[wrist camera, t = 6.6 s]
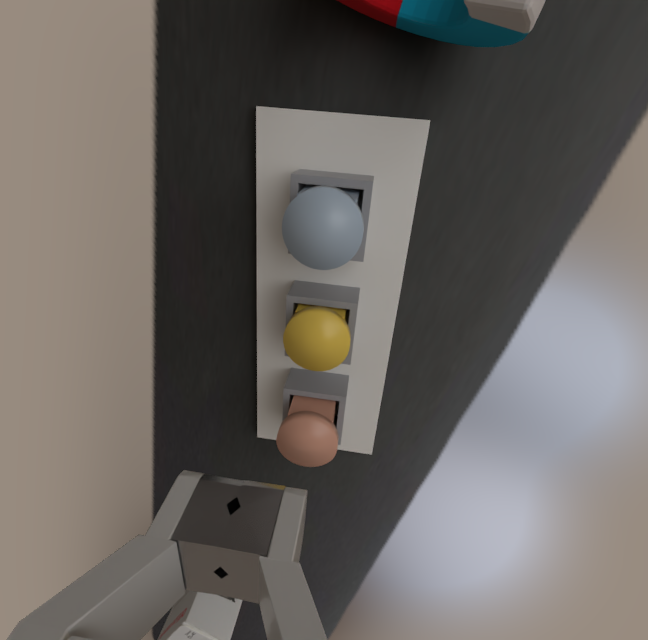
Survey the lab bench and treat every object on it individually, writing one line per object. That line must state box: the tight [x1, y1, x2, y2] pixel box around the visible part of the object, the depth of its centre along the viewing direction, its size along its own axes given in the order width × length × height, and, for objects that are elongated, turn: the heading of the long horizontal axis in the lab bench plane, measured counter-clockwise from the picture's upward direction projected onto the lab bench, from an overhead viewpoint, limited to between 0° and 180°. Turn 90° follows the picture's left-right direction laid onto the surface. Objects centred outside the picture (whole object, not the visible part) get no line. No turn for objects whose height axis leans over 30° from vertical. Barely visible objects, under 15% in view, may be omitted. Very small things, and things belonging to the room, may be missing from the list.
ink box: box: [158, 590, 242, 640], centre depth 41 cm, size 9×5×12 cm, turn 147°
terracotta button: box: [276, 395, 339, 467], centre depth 31 cm, size 5×5×4 cm
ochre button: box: [283, 303, 351, 371], centre depth 29 cm, size 5×5×4 cm
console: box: [256, 106, 430, 454], centre depth 30 cm, size 28×11×4 cm, turn 176°
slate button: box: [282, 185, 364, 270], centre depth 24 cm, size 5×5×4 cm
